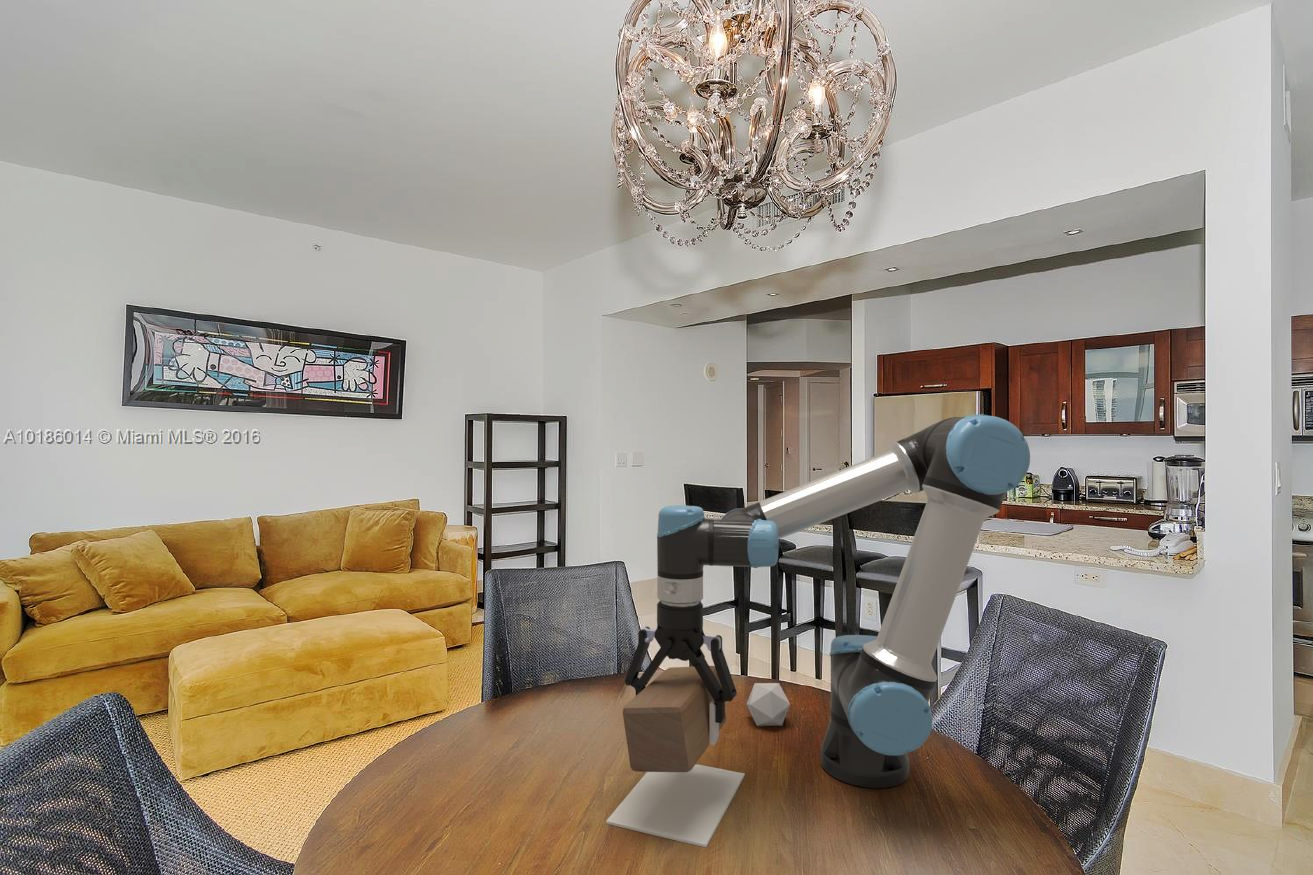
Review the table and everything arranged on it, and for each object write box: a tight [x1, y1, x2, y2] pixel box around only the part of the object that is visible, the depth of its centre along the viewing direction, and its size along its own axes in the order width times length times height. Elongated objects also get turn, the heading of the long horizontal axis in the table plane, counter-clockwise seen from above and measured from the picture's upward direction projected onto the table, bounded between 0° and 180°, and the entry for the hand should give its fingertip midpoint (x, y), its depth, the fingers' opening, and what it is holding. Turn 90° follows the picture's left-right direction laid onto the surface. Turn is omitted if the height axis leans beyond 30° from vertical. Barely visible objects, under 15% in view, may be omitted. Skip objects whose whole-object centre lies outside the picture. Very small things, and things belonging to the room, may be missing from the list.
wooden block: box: [622, 665, 727, 773], centre depth 109 cm, size 10×10×20 cm
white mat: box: [605, 763, 745, 848], centre depth 109 cm, size 16×22×1 cm
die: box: [746, 682, 791, 727], centre depth 138 cm, size 8×9×10 cm
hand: (679, 735), depth 109 cm, fingers closed on wooden block, 11 cm apart
